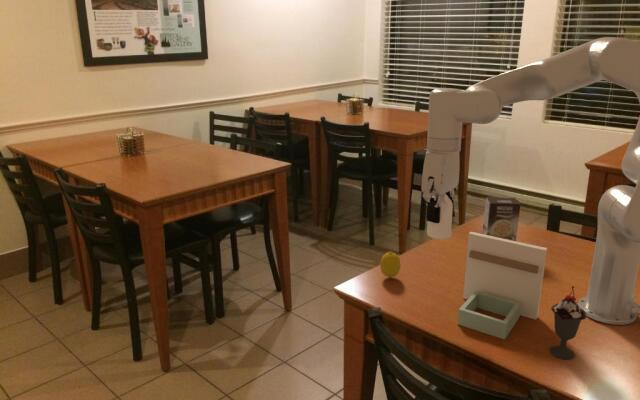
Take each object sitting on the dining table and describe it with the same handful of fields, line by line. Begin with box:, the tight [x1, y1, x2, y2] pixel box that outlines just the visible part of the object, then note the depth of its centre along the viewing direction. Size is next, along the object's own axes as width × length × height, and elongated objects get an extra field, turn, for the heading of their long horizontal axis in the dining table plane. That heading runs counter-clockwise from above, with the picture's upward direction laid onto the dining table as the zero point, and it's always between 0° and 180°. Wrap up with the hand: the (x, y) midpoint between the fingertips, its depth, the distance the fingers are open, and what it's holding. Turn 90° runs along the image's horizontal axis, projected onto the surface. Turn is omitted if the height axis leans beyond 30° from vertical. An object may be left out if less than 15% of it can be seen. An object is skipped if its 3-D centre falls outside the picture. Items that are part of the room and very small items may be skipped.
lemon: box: [379, 250, 401, 279], centre depth 144 cm, size 6×6×8 cm
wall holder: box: [457, 231, 548, 340], centre depth 122 cm, size 18×14×18 cm
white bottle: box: [426, 191, 454, 240], centre depth 124 cm, size 6×12×6 cm
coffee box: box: [481, 196, 521, 242], centre depth 161 cm, size 9×6×16 cm
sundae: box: [549, 285, 587, 361], centre depth 109 cm, size 7×7×15 cm
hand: (439, 217), depth 125 cm, fingers closed on white bottle, 5 cm apart
